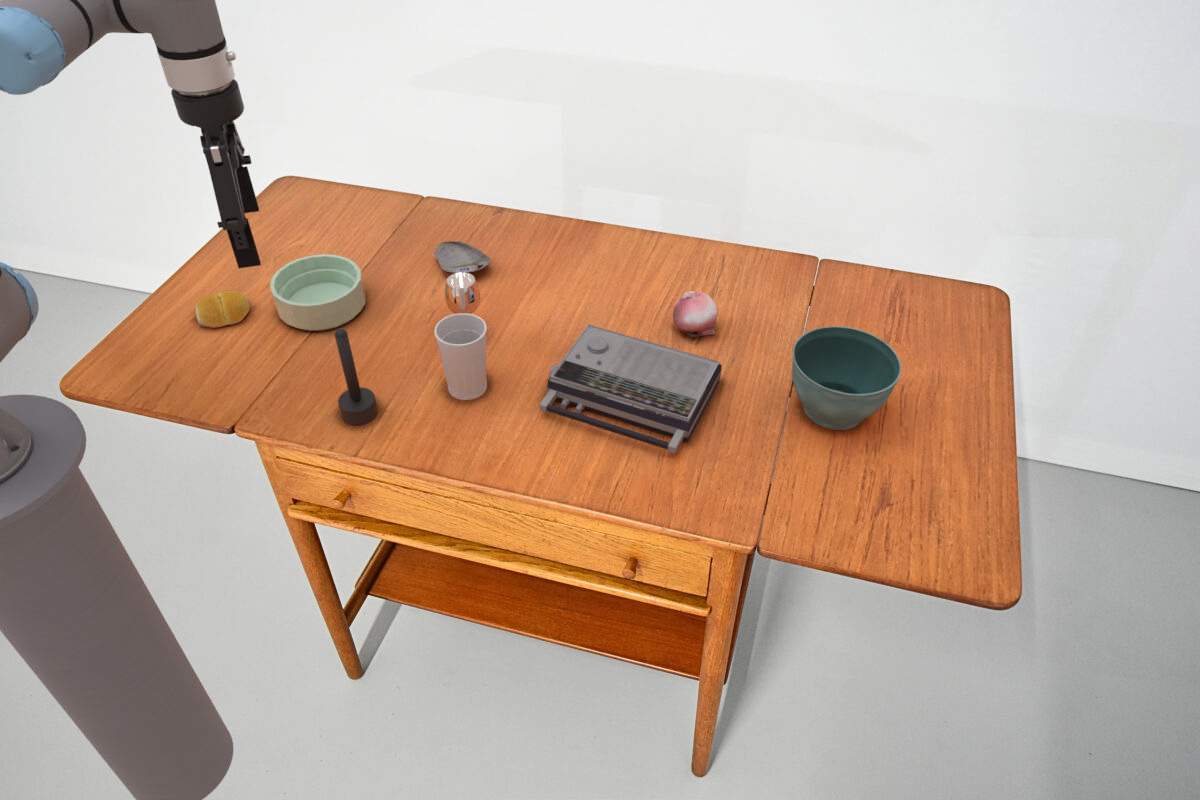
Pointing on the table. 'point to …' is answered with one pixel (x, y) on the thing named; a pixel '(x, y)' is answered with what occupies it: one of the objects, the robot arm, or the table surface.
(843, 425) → the flower pot
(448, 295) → the wineglass
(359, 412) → the plunger
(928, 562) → the table surface
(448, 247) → the seashell
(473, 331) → the cup
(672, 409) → the radio
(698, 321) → the onion
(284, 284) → the bowl
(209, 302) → the bread roll
